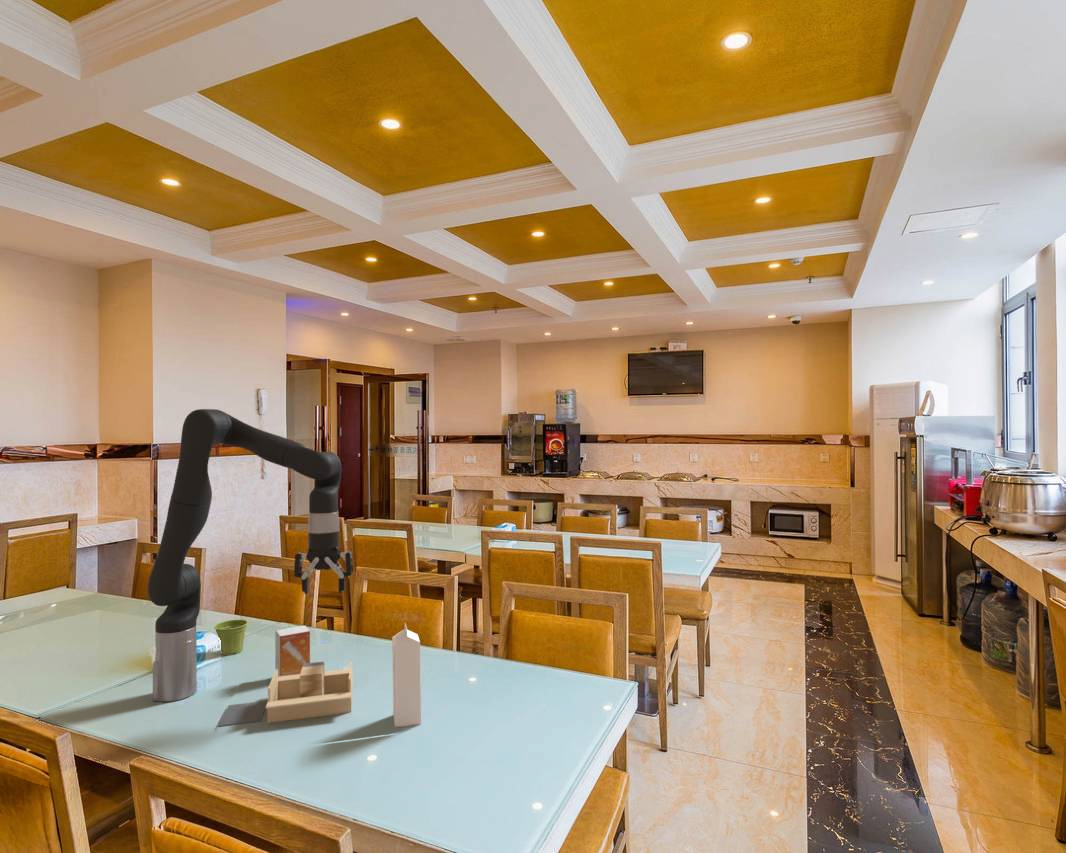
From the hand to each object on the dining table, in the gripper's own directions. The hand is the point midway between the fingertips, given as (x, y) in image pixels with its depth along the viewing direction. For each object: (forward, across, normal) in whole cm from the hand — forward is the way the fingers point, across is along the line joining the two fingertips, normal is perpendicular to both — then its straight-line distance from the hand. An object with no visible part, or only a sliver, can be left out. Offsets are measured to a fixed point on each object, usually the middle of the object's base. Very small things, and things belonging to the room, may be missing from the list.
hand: (324, 592), depth 155 cm
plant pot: (+27, -38, +36) cm, 59 cm away
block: (+26, -1, -6) cm, 27 cm away
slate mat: (+27, -17, -8) cm, 32 cm away
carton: (+26, -1, -6) cm, 27 cm away
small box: (+27, -12, +14) cm, 32 cm away
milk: (+26, +23, -15) cm, 38 cm away
